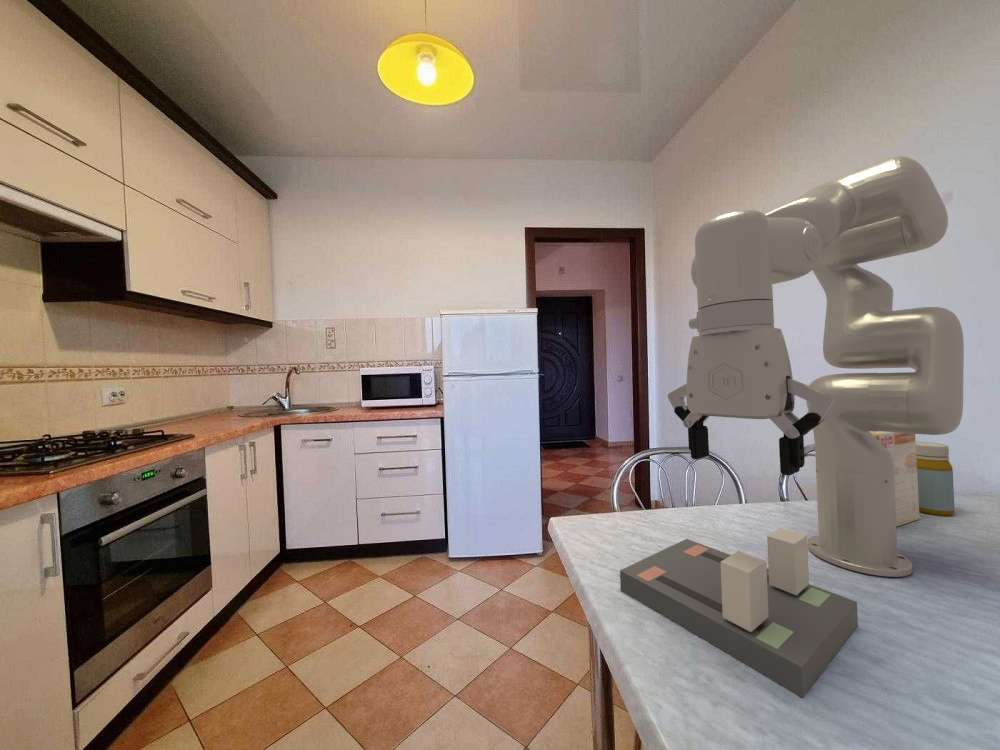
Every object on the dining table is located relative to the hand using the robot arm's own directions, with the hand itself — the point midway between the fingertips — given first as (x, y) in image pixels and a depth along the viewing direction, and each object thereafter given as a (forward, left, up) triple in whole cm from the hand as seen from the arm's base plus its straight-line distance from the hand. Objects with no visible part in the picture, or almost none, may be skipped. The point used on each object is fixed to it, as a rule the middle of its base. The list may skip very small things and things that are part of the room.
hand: (741, 464), depth 42 cm
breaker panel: (-6, -5, -22) cm, 23 cm away
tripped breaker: (0, 0, -18) cm, 18 cm away
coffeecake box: (-62, -1, -22) cm, 65 cm away
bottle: (-77, +4, -22) cm, 80 cm away
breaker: (-12, 0, -18) cm, 21 cm away
